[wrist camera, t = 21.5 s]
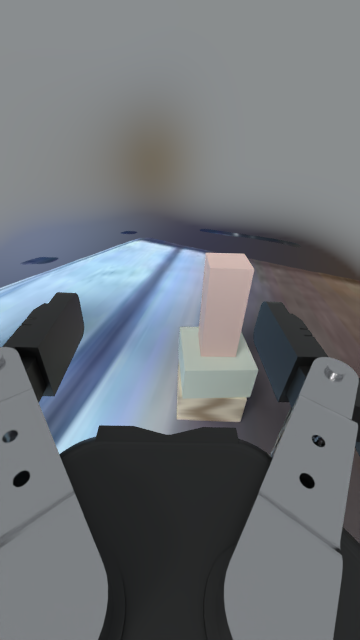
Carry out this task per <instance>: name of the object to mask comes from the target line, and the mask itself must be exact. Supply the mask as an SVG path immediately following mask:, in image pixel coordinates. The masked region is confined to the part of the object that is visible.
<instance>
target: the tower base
mask: <svg viewBox="0 0 360 640" xmlns="http://www.w3.org/2000/svg"><path fill="white" fill-rule="evenodd" d="M246 401H247V398H246V397H235V398H186V399H183V398H182V387H181V376H180V365H179V363H178V387H177V420H202V421H227V422H240V421H241V418H242V414H243V411H244V408H245V404H246Z"/></svg>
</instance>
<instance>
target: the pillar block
mask: <svg viewBox="0 0 360 640" xmlns="http://www.w3.org/2000/svg"><path fill="white" fill-rule="evenodd" d="M253 272H254V268H253V267H252V265H251V264H250V262H249V260H248V259H247V257H246V256H245V254H229V253H228V254H227V253H206V257H205V267H204V278H203V289H202V300H201V310H200V321H199V332H198V337H199V345H200V354H201V356H203V357H236V354H237V349H238V344H239V339H240V334H241V330H242V325H243V320H244V315H245V311H246V306H247V301H248V296H249V292H250V287H251V282H252V277H253Z"/></svg>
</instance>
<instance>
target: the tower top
mask: <svg viewBox="0 0 360 640" xmlns="http://www.w3.org/2000/svg"><path fill="white" fill-rule="evenodd" d="M198 332H199V327H180V334H179V350H178V355H179V365H180V376H181V387H182V398H183V399H186V398H235V397H250V396H251V392H252V389H253V386H254V383H255V379H256V376H257V373H258V368H257V366H256V364H255V361H254V359H253V357H252V355H251V352H250V350H249V348H248V346H247V343H246V341H245V339H244V337H243V334H242V332H241V334H240V339H239V344H238V349H237V354H236V357H203V356H201V354H200V345H199V337H198Z"/></svg>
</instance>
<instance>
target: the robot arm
mask: <svg viewBox="0 0 360 640" xmlns="http://www.w3.org/2000/svg"><path fill="white" fill-rule="evenodd" d="M83 332H84V322H83V317H82V312H81V307H80V301H79V297H78V295H77V294H76V293H60V292H58V293H56V294H55V296H54V297H53V298H52V299H51V301H50V302H49V303H48V304H46V303H44V304H42V305H41V306H39V307H37V308H36V309H34V310H33V311H32V312H31V313H30V315H29V316H28V317H27V319H25V321H24V322H23V323H22V326H20V327H19V328H18V329H17V330H16V331H15V332H14V334H13V335H12V336H11V337H10V338H9V340H8V341H7V342H6V343H5V344H4V345H3V347H0V640H360V544H359V543H358V542H357V541H356V540H355V539H354V538H353V537H352V536H351V535H350V534H349V533H348V532H347V531H346V530H345V529H344V528H343V520H344V514H345V507H346V501H347V495H348V488H349V482H350V476H351V469H352V463H353V457H354V450H355V448H356V450H357V452H358V454H359V456H360V378H358V376H357V374H356V372H355V371H354V370H353V369H352V368H351V367H349V366H348V365H347V364H345V363H343V362H341V361H339V360H336V359H333V358H329V357H328V356H327V354H326V353H325V352H324V350H323V349H322V347H321V346H320V345H319V343H318V342H317V341H316V339H315V338H314V337H312V334H311V332H310V331H309V330H308V328H307V327H306V325H305V324H304V322H303V321H302V320H301V319H299V318H298V317H296V316H295V315H294V314H289V312H288V311H287V309H286V308H285V306H284V305H283V303H281V302H263V303H262V305H261V307H260V311H259V315H258V318H257V322H256V325H255V329H254V343H255V346H256V348H257V351H258V353H259V356H260V358H261V361H262V363H263V366H264V368H265V371H266V373H267V376H268V378H269V381H270V383H271V386H272V388H273V391H274V393H275V396H276V398H277V401H278V402H290V404H291V409H290V411H289V413H288V415H287V417H286V420H285V422H284V424H283V426H282V429H281V431H280V433H279V436H278V438H277V440H276V442H275V445H274V447H273V449H272V451H271V453H270V455H269V454H267V453H266V452H265V451H263V450H261V449H260V448H258V447H257V446H255V445H253V444H251V443H248V442H246V441H243V440H240V439H238V436H237V431H236V428H213V427H202V428H198V429H194V430H189V431H185V432H181V433H177V434H172V435H165V434H161V433H157V432H153V431H150V430H146V429H142V428H139V427H135V426H99V428H98V432H97V436H96V437H93V438H90V439H87V440H84V441H81V442H79V443H77V444H75V445H73V446H71V447H70V448H68V449H66V450H65V451H63V452H62V453H61V454H59V453H58V450H57V448H56V445H55V443H54V440H53V438H52V435H51V433H50V430H49V428H48V425H47V423H46V420H45V418H44V415H43V413H42V410H41V408H40V405H39V401H40V399H41V397H42V396H55V394H56V392H57V390H58V387H59V385H60V383H61V381H62V379H63V377H64V375H65V373H66V371H67V368H68V366H69V364H70V362H71V360H72V358H73V356H74V354H75V352H76V349H77V347H78V345H79V343H80V341H81V339H82V337H83Z"/></svg>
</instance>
